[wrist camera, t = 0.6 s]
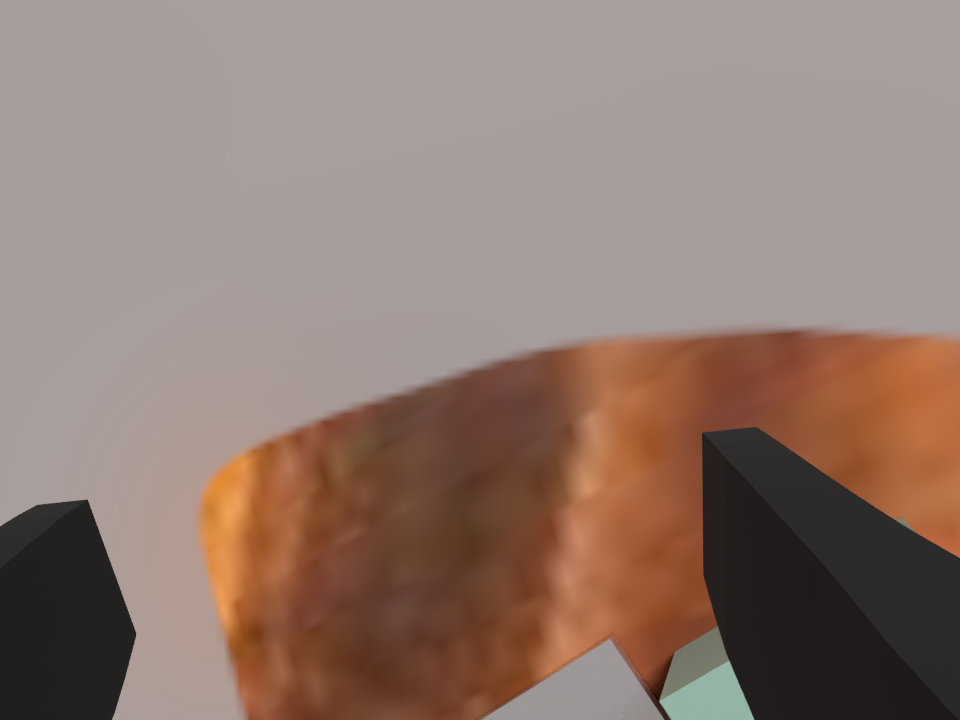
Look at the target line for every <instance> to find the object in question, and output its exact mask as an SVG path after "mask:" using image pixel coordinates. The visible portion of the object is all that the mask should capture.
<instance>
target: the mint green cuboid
mask: <svg viewBox="0 0 960 720" xmlns="http://www.w3.org/2000/svg"><path fill="white" fill-rule="evenodd" d="M896 521H897V522H899V523H901V524H902V525H904V526H906V527H907V528H909V529H910V530H912V531H914V530H913V529H912V528H911V527H910V525H909V524H908V523H907V522H906V521H905V520H904V518H903V517H901V518H900V519H898V520H896ZM914 532H915V531H914ZM915 533H916V532H915ZM659 702H660V703H661V705H662V706H663V708H664V709H665V711H666V712H667V714H668V715H669V717H670V719H671V720H754V718H753V715H752V713H751V711H750V708H749V706H748V704H747V701H746V699H745V697H744V694H743V692H742V690H741V687H740V685H739V683H738V680H737V678H736V676H735V673H734V671H733V668H732V666H731V664H730V661H729V659H728V656H727V654H726V651H725V648H724V645H723V641H722V638H721V635H720V631H719V628H718V626H717V627H716V628H714V629H712V630H711V631H709V632H707V633H706V634H704V635H702V636H701V637H699V638H697V639H696V640H694V641H692V642H690V643H689V644H687V645H685V646H684V647H682V648H680V649H679V650H677V651H675V653H674V656H673V659H672V662H671V665H670V669H669V672H668V675H667V678H666V681H665V684H664V687H663V691H662V694H661V697H660V700H659Z"/></svg>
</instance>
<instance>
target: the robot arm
mask: <svg viewBox="0 0 960 720" xmlns="http://www.w3.org/2000/svg"><path fill="white" fill-rule="evenodd" d="M702 456H703V569H704V579H705V582H706V586H707V589H708V593H709V597H710V600H711V604H712V607H713V611H714V614H715V618H716V621H717V625H718V628H719V631H720V635H721V638H722V641H723V645H724V648H725V651H726V654H727V656H728V659H729V661H730V664H731V666H732V668H733V671H734V673H735V676H736V678H737V680H738V683H739V685H740V687H741V690H742V692H743V694H744V697H745V699H746V701H747V704H748V706H749V708H750V711H751V713H752V715H753V718H754V720H960V558H959V557H957V556H955V555H953V554H952V553H950V552H948V551H946V550H945V549H943V548H941V547H939V546H938V545H936V544H934V543H932V542H931V541H929V540H927V539H925V538H924V537H922V536H920V535H919V534H917V533H915V532H914V531H912V530H910V529H909V528H907V527H906V526H904V525H902V524H901V523H899V522H897V521H896V520H894V519H893V518H891V517H889V516H888V515H886V514H885V513H883V512H882V511H880V510H878V509H877V508H875V507H874V506H872V505H871V504H869V503H868V502H866V501H865V500H863V499H861V498H860V497H858V496H857V495H855V494H854V493H852V492H851V491H849V490H848V489H846V488H845V487H843V486H842V485H840V484H839V483H837V482H836V481H834V480H833V479H832V478H830V477H829V476H827V475H826V474H824V473H823V472H821V471H820V470H818V469H817V468H816V467H814V466H813V465H811V464H810V463H808V462H807V461H805V460H804V459H803V458H801V457H800V456H798V455H797V454H795V453H794V452H793V451H791V450H790V449H788V448H787V447H785V446H784V445H782V444H781V443H780V442H778V441H777V440H775V439H774V438H772V437H771V436H769V435H768V434H766V433H765V432H763V431H761V430H760V429H758V428H756V427H752V428H742V429H733V430H724V431H715V432H706V433H702ZM135 638H136V632H135V629H134V626H133V623H132V621H131V618H130V615H129V612H128V609H127V607H126V604H125V601H124V598H123V596H122V593H121V590H120V587H119V585H118V582H117V579H116V576H115V574H114V571H113V568H112V566H111V563H110V560H109V557H108V555H107V552H106V549H105V546H104V543H103V541H102V538H101V535H100V532H99V530H98V527H97V524H96V522H95V519H94V516H93V513H92V510H91V508H90V505H89V502H88V500H79V501H70V502H61V503H52V504H43V505H36V506H35V507H33V508H31V509H29V510H27V511H25V512H23V513H22V514H20V515H18V516H16V517H15V518H13V519H11V520H10V521H8V522H6V523H5V524H3V525H2V526H0V720H112V718H113V715H114V713H115V710H116V706H117V702H118V700H119V696H120V693H121V690H122V686H123V683H124V680H125V676H126V672H127V668H128V665H129V660H130V657H131V653H132V649H133V645H134V641H135Z"/></svg>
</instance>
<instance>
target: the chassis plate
mask: <svg viewBox="0 0 960 720" xmlns="http://www.w3.org/2000/svg"><path fill="white" fill-rule="evenodd" d="M477 720H670V718H669V717H668V715H667V714H666V712H665V711H664V709H663V708H662V706H661V705H660V703H659V702H658V700H657V699H656V697H655V696H654V694H653V693H652V691H651V690H650V688H649V687H648V685H647V684H646V682H645V681H644V679H643V678H642V677H641V675H640V674H639V672H638V671H637V669H636V668H635V666H634V665H633V663H632V662H631V660H630V659H629V657H628V656H627V654H626V653H625V651H624V650H623V648H622V647H621V645H620V644H619V642H618V641H617V639H616V638H615V636H614V635H613V634H612V635H610V636H609V637H607V638H605V639H604V640H602V641H601V642H599V643H598V644H596V645H594V646H593V647H591V648H590V649H588V650H586V651H585V652H583V653H582V654H580V655H578V656H577V657H575V658H574V659H572V660H571V661H569V662H567V663H566V664H564V665H563V666H561V667H559V668H558V669H556V670H555V671H553V672H552V673H550V674H548V675H547V676H545V677H544V678H542V679H540V680H539V681H537V682H536V683H534V684H532V685H531V686H529V687H528V688H526V689H525V690H523V691H521V692H520V693H518V694H517V695H515V696H513V697H512V698H510V699H509V700H507V701H505V702H504V703H502V704H501V705H499V706H498V707H496V708H494V709H493V710H491V711H490V712H488V713H486V714H485V715H483V716H482V717H480V718H478V719H477Z"/></svg>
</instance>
